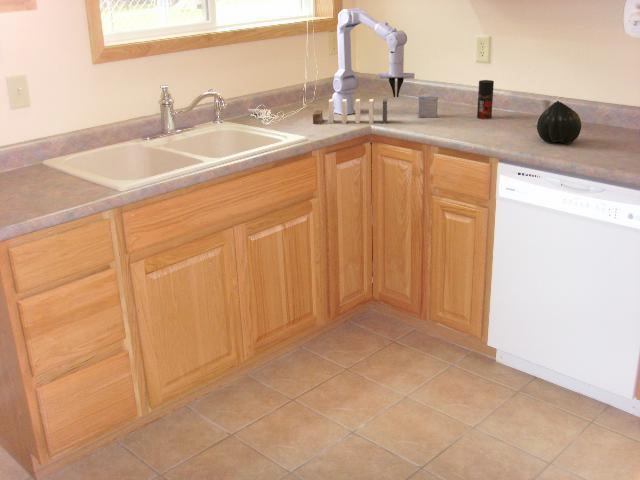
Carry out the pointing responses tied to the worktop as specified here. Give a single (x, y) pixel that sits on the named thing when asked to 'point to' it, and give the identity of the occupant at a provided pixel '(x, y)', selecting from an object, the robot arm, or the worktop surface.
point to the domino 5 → (384, 110)
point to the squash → (559, 124)
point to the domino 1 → (331, 110)
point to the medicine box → (427, 105)
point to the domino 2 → (344, 110)
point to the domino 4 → (371, 110)
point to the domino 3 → (357, 110)
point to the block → (317, 117)
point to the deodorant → (485, 99)
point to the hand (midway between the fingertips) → (395, 96)
